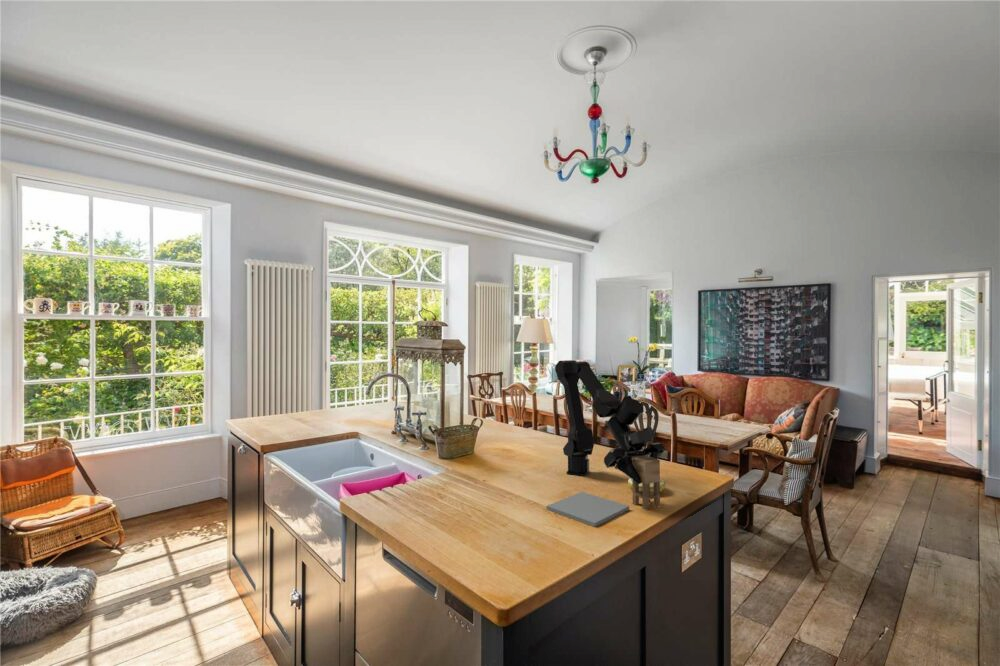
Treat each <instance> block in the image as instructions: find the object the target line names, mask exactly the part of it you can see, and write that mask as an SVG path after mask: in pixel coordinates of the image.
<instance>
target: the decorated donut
mask: <svg viewBox="0 0 1000 666" xmlns="http://www.w3.org/2000/svg"><path fill="white" fill-rule="evenodd" d="M627 483H628V486H629V488H630V489H631V490H632V491H633V481H632V478H630V477H629V478H628V480H627ZM664 489H665V482H664V480H663V479H661V478H660V494H661V493H662V492H663V491H664ZM639 490H642V483H640V484H639ZM650 491H653V492H654V483H650ZM650 495H651V494H650Z"/></svg>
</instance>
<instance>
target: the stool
mask: <svg viewBox="0 0 1000 666" xmlns="http://www.w3.org/2000/svg"><path fill="white" fill-rule="evenodd" d="M660 462H661V461H660V459H658V458H657V459H655V458H652V457H649V456H640V457H634V458H632V463H633V465H634V467H635V469H636V471H637V473H638V475H639V477H640V479H641V483H642V490H639V484H638V483H637V482H635V481H634V480H633V479H632V481H633V490H632V504H633V505H635V506H638V505H640V499H642V509H643V510H644V511H647V510H650V502H651V500H653V507H655V506H656V508H659V507H658V506H660V507H661V493H660V479H661V463H660ZM650 483H654V492H653V491H650ZM650 494H651V495H650ZM646 509H647V510H646Z"/></svg>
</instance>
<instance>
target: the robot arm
mask: <svg viewBox="0 0 1000 666" xmlns="http://www.w3.org/2000/svg"><path fill="white" fill-rule="evenodd" d="M554 371H555V373H556V377H557V380H558V381H559V383H561V385H562V386H563V390H564V395H565V400H566V408H567V413H568V418H569V425H570V428H569V431H568V434H567V442H566V443H565V445H564V446H563V448H562V451H563V455H565V456H567V471H566V474H567V475H576V476H582V477H583V476H584V477H586V475H587V474H588V473H589V472H590V459H589V458H588V457H589V455H590V456H592V454H593V450H594V446H595V442H594V441H595V439H594V435H593V433H594V432H593V429H591V428H588V426H587V425H586V423H585V419H584V417H585V416H584V411H583V407H582V401H581V396H580V391H579V384H578V383H579V381H581V383H582V384H583V386H584V387H585V389H586V391H587V392H588V393H589V395H590V397H591V399H592V407H593V408H594V411H595V413H596V415H597V416H598V417H599V418H602V419H605V418H609V419H608V420H605V422H604V423H605V424H604V426H603V430H604V431H607V430H609V431H610V433H611V434H612V436H613V438H614V440H615V441H614V442H613V443H614V446H615V447H616V446H618V448H611V449H610V450H609V451H608V452H607V453H606V455H605V456H604V458H603V462H604V465H605V466H606V469H607V468H613V467H614V469H615V470H618V471H620V472H622V473H623V474H625V475H626V476H627V477H629V479H630V478H632V479H633V480H634V481H635V482H637V483H638V484H640V483H641V479H640V477H639V475H638V473H637V471H636V469H635V467H634V465H633V463H632V458H634V457H640V456H649V457H652V458H655V459H658V458H659V457H660V456H661V455H662V454H663V453H664V452H665V451H666V448H665V446H664V445H663V443H662V442H653V441H654V438H656V432H655V431H654V429H653V428H652V426H648V427H645V428H643V429H642V430H639V431H638V430H633V429H632V427H630V426H631V425H633V424H635V423H636V422H637V420H638V419H639V417H640V416H641V415H642V414H643V412H644V406H643V404H642V403H641V402H640V401H639V400H637V399H635V398H632V396H631V395H625V396H624V397H623V398H622V400H621V401H620V399H619V398H617V397H616V395H614V393H612V392H610V391H608V390H607V389H606V388H605V386H603V384H602V383H601V381H600V380H599V378H598V377H597V375H596V374H595V373H594V371H593V369H592V368H591V364H590V363H589V362H588V361H586V360H585V361H577V360H576V359H569V360H568V359H567V360H566V359H565V360H558V361H557V363H556V364H555V367H554ZM648 442H653V443H649V444H648V446H647V447H645V446H646V445H647V444H646V443H648ZM644 447H645V448H644Z"/></svg>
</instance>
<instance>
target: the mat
mask: <svg viewBox="0 0 1000 666" xmlns="http://www.w3.org/2000/svg"><path fill="white" fill-rule="evenodd" d="M546 510H547V511H550V512H552V513H555V514H558V515H560V516H564V517H566V518H569V519H572V520H575V521H578V522H580V523H583V524H586V525H587V526H591V527H594V528H596V527H597V526H600V525H602V524H604V523H606V522H607V521H609V520H612V519H614V518H616V517H618V516H620V515H622V514H623V512H624V513H626V512H628V511H629V510H630V505H626V504H624V503H620V502H616V501H614V500H611V499H607V498H603V497H602V496H601V497H600V496H598V495H595V494H592V493H591V494H590V493H588V492H584V491H580V492H577V493H575V494H573V495H570V496H568V497H564V498H562V499H560V500H557V501H555V502H553V503H550V504H548V505H546ZM627 510H628V511H627ZM625 511H626V512H625ZM621 513H622V514H621ZM619 514H620V515H619ZM617 515H618V516H617ZM615 516H616V517H615ZM613 517H614V518H613Z"/></svg>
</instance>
